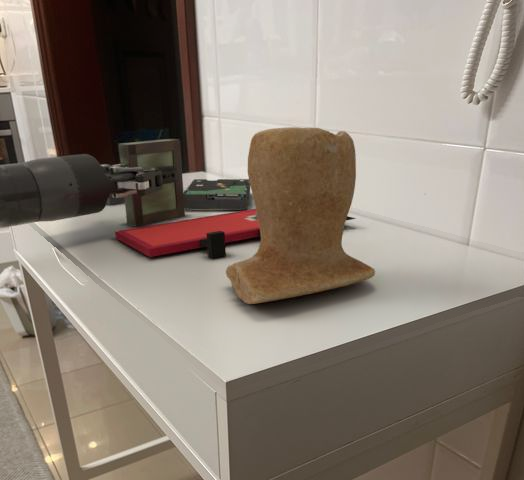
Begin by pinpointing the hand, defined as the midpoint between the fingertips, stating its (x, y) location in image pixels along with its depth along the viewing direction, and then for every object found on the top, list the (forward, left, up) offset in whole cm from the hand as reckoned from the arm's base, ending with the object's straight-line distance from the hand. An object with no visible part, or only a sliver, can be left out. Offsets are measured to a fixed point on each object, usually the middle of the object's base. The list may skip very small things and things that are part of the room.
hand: (168, 172), depth 82 cm
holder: (-13, +14, -7) cm, 21 cm away
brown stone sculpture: (+24, -27, -7) cm, 37 cm away
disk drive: (+4, +12, -7) cm, 15 cm away
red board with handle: (+13, -8, -7) cm, 17 cm away
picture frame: (-1, -3, -7) cm, 7 cm away
